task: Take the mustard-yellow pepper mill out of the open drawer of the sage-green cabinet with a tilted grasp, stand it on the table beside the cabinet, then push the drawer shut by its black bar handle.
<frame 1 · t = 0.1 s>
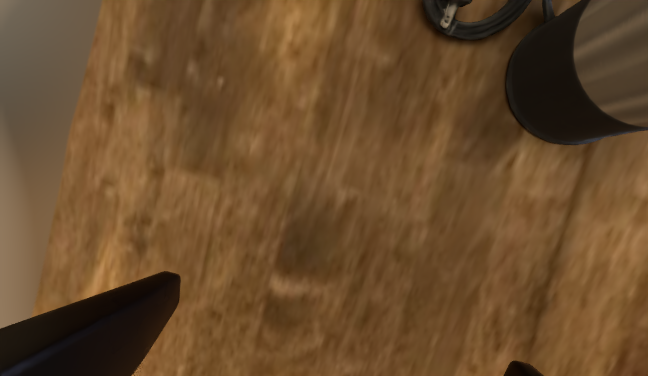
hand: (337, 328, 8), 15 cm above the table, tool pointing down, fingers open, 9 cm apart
milk frother: (523, 47, 22), on the table
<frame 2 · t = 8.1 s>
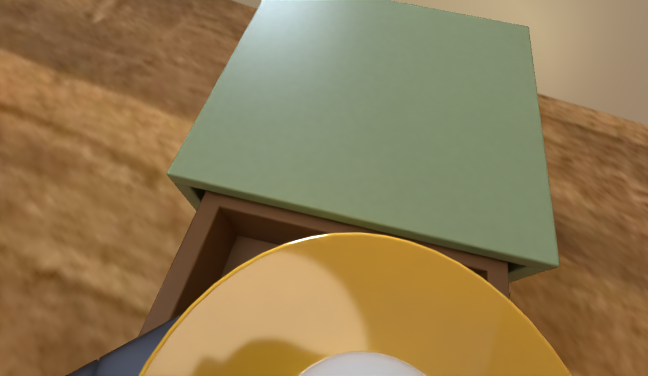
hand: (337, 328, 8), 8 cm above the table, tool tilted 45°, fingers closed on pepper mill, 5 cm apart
pepper mill: (317, 371, 13), point 2 cm above the table, touching drawer, gripper
cabinet: (359, 161, 20), on the table
when the fingers open (6 cm above the table, at t = 14.0 s): pepper mill stays where it is, on the table.
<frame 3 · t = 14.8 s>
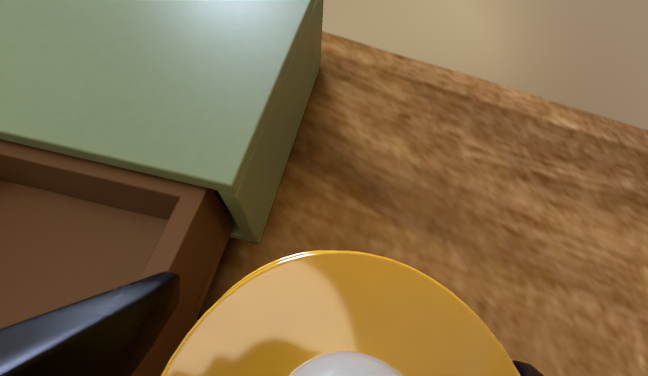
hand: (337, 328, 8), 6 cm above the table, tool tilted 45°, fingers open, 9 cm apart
pepper mill: (315, 370, 13), on the table
cabinet: (183, 115, 19), on the table
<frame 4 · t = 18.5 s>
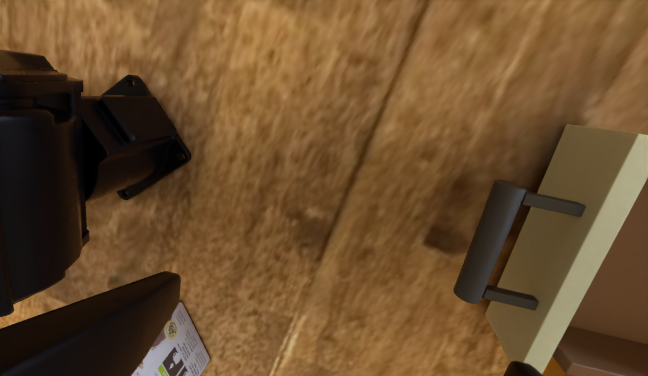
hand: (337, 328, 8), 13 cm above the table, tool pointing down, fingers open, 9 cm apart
coffee box: (153, 336, 27), on the table
drawer: (618, 264, 17), point 3 cm above the table, slide at 10.8 cm
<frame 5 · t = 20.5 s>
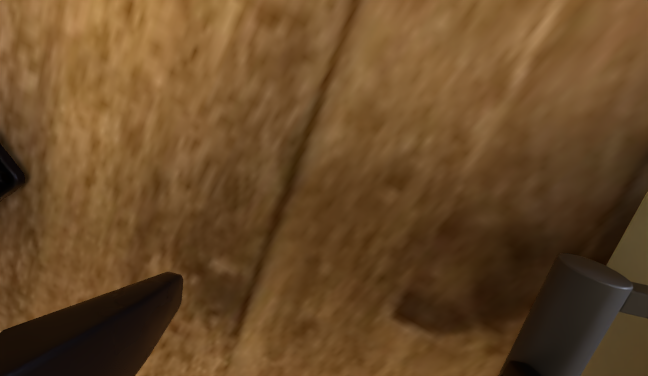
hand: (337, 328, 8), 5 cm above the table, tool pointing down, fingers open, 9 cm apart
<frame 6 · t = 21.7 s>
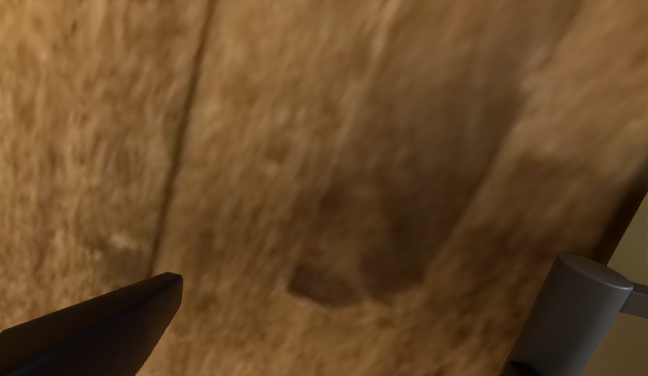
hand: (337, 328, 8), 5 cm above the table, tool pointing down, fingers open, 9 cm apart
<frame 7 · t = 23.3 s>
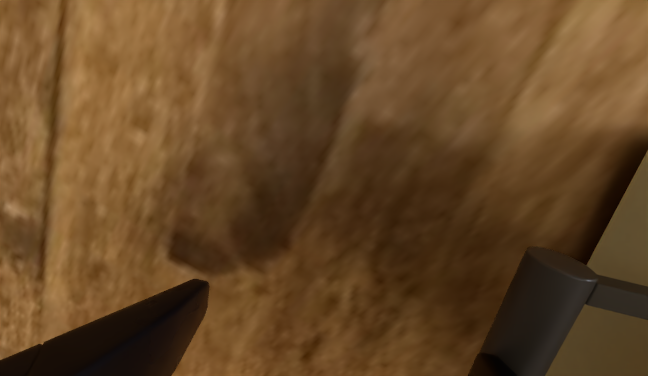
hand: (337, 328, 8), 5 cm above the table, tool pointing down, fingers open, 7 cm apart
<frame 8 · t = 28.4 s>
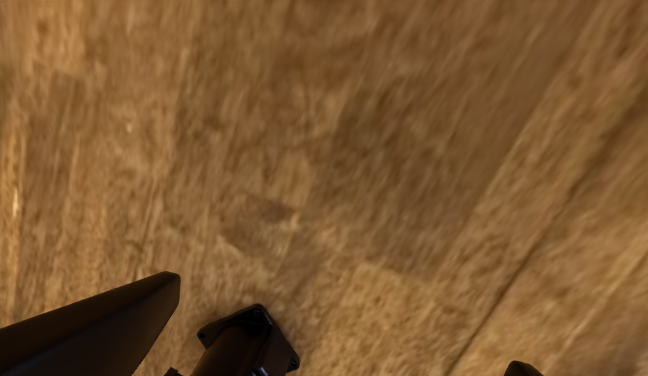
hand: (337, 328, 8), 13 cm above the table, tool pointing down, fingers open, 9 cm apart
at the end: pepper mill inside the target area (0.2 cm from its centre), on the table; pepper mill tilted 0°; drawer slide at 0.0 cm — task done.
